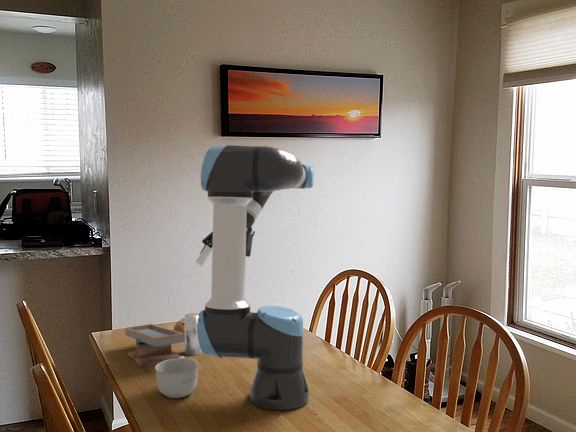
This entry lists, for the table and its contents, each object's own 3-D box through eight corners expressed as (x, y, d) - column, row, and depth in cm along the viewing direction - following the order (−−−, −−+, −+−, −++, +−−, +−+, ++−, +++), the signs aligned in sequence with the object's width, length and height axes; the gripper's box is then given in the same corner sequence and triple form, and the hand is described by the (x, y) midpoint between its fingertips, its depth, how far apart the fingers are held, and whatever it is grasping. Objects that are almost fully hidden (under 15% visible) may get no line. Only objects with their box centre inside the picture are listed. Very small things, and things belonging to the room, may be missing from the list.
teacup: (188, 404, 151) (188, 373, 151) (148, 399, 154) (148, 369, 153) (207, 383, 165) (207, 355, 164) (169, 379, 167) (169, 351, 166)
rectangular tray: (188, 343, 176) (187, 332, 176) (152, 349, 170) (151, 338, 170) (155, 332, 198) (154, 323, 198) (122, 337, 192) (121, 328, 192)
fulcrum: (180, 359, 183) (180, 343, 182) (141, 367, 176) (141, 350, 176) (164, 348, 193) (164, 333, 192) (128, 355, 186) (127, 339, 186)
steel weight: (203, 353, 189) (203, 316, 188) (188, 356, 186) (188, 318, 185) (196, 349, 193) (196, 312, 192) (182, 351, 190) (182, 314, 189)
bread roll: (176, 342, 211) (166, 322, 209) (203, 328, 213) (193, 308, 212) (180, 351, 202) (169, 331, 200) (207, 336, 204) (197, 316, 202)
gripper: (279, 226, 193) (247, 282, 185) (225, 215, 209) (193, 266, 201) (268, 212, 188) (234, 269, 180) (213, 202, 204) (180, 254, 196)
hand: (213, 268), depth 191 cm, fingers open, 13 cm apart
